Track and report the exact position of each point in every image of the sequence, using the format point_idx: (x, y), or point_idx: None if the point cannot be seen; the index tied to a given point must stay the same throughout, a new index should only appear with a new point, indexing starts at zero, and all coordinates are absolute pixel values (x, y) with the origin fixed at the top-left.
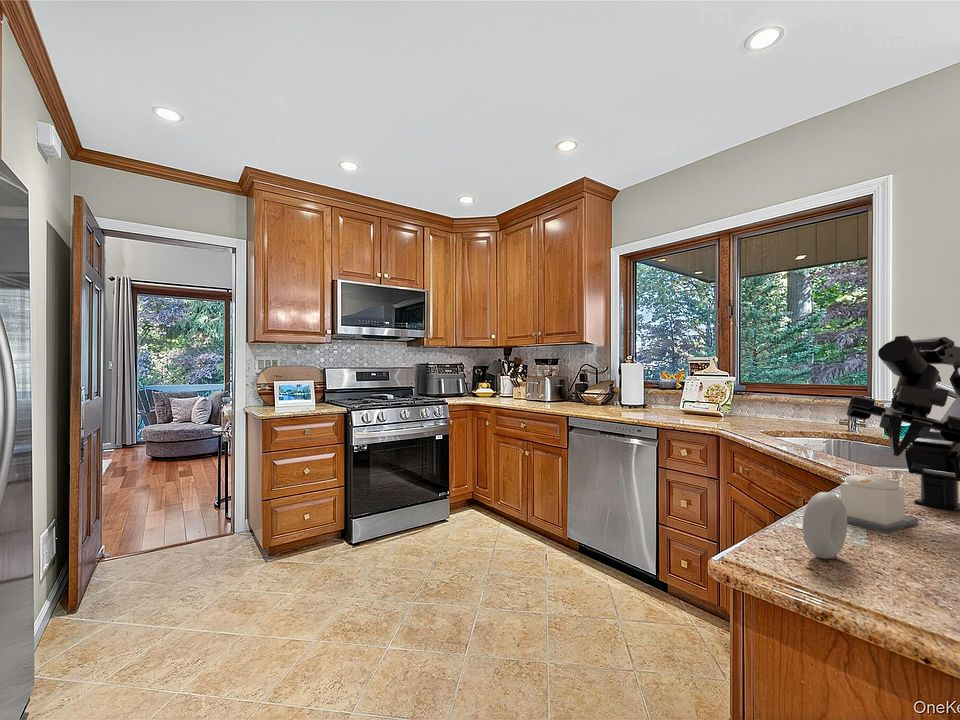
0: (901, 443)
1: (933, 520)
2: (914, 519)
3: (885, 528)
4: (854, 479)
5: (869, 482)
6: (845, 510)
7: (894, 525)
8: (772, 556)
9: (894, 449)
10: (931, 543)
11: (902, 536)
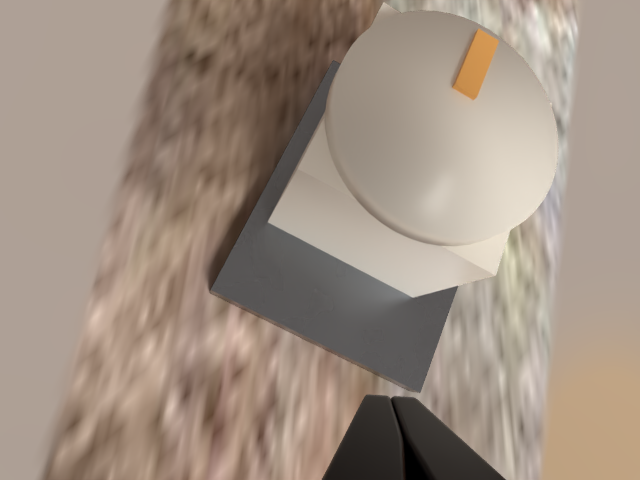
0: (396, 470)
1: (129, 416)
2: (227, 258)
3: (337, 65)
4: (520, 79)
5: (459, 36)
6: None
7: (310, 104)
8: None
9: (428, 417)
10: (216, 28)
11: (288, 64)
